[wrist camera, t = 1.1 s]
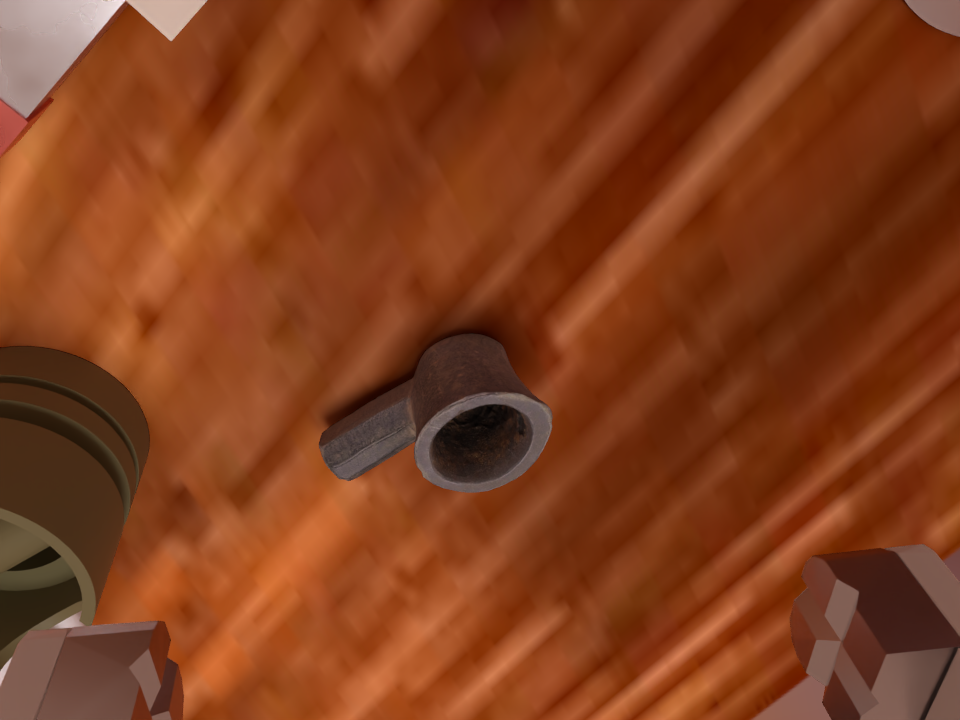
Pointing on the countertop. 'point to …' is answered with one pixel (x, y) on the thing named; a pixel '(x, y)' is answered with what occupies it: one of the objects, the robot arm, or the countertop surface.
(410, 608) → the countertop surface
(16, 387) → the piston
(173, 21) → the collar
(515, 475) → the pipe
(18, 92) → the steel rail
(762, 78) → the countertop surface
